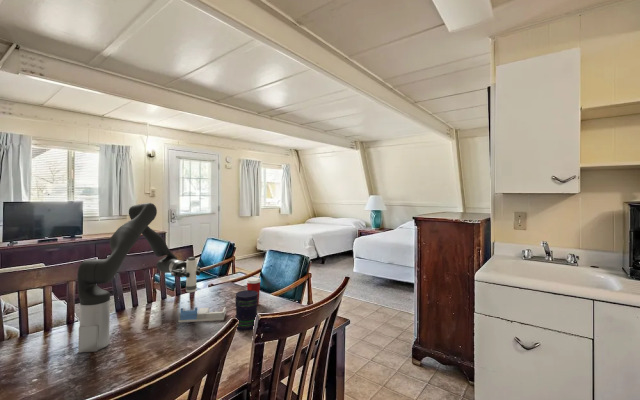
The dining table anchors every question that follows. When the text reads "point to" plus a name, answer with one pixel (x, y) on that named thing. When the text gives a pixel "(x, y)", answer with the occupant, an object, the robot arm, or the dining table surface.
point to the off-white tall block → (191, 275)
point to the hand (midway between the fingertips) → (193, 274)
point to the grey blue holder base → (200, 315)
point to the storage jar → (246, 309)
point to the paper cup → (254, 285)
